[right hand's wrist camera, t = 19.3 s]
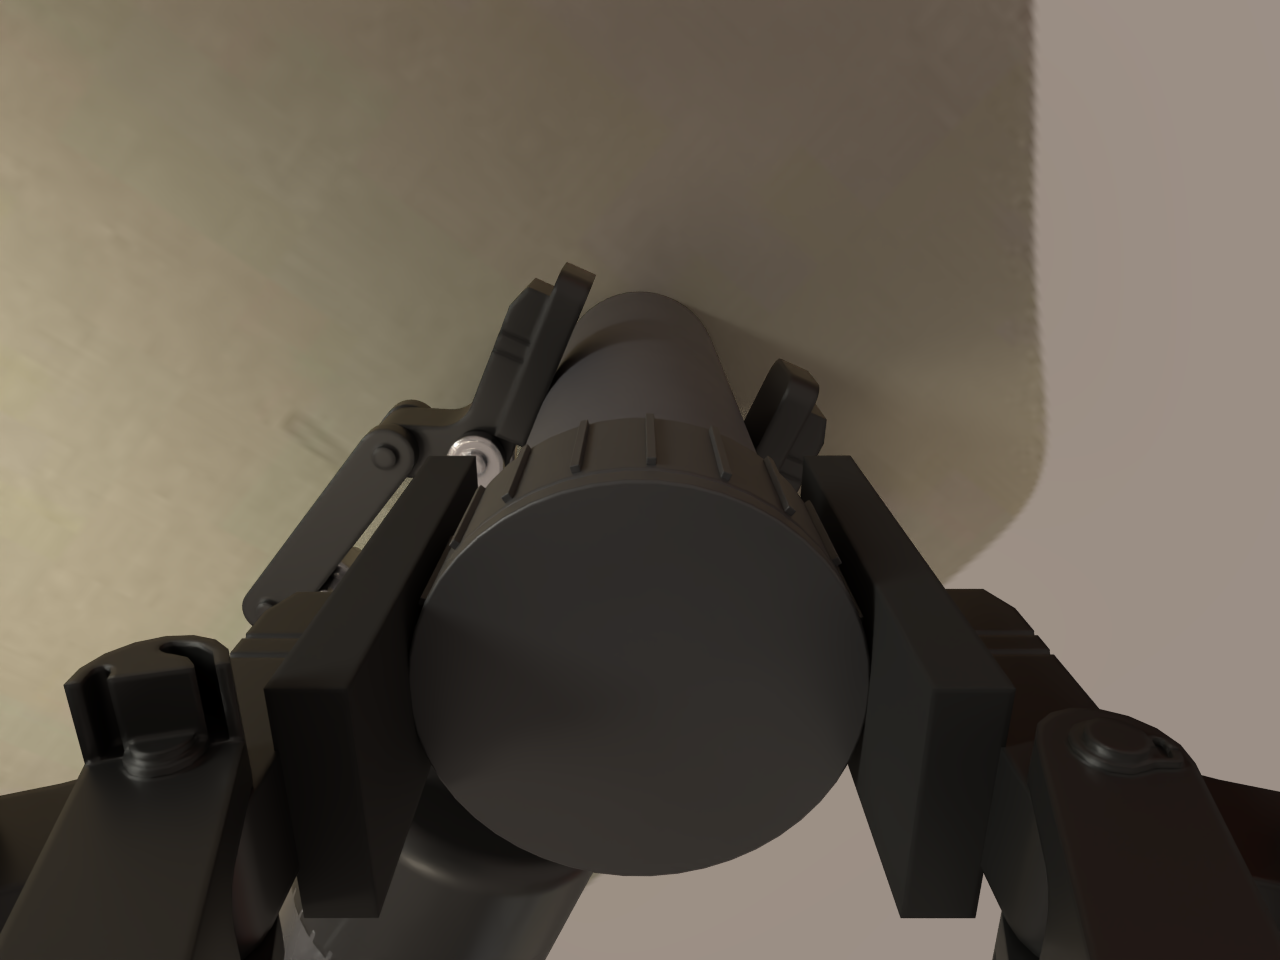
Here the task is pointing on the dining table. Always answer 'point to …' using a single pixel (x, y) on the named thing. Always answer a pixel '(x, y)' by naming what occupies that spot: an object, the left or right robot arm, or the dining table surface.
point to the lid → (639, 652)
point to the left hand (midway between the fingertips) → (688, 326)
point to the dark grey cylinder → (639, 371)
